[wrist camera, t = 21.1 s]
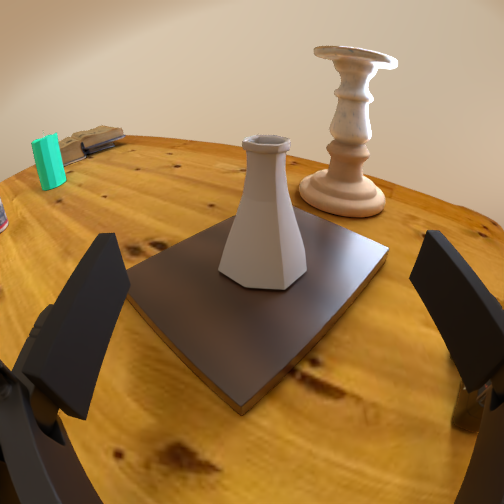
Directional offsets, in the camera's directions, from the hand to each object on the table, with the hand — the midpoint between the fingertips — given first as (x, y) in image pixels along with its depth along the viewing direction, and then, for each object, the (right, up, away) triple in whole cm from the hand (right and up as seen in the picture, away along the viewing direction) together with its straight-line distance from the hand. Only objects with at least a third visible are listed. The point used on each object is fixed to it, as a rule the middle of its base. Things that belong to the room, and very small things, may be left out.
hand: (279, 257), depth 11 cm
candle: (-42, +14, +35) cm, 56 cm away
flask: (0, -1, +12) cm, 12 cm away
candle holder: (+11, +8, +27) cm, 30 cm away
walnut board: (0, -2, +13) cm, 13 cm away
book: (-50, +27, +54) cm, 78 cm away
